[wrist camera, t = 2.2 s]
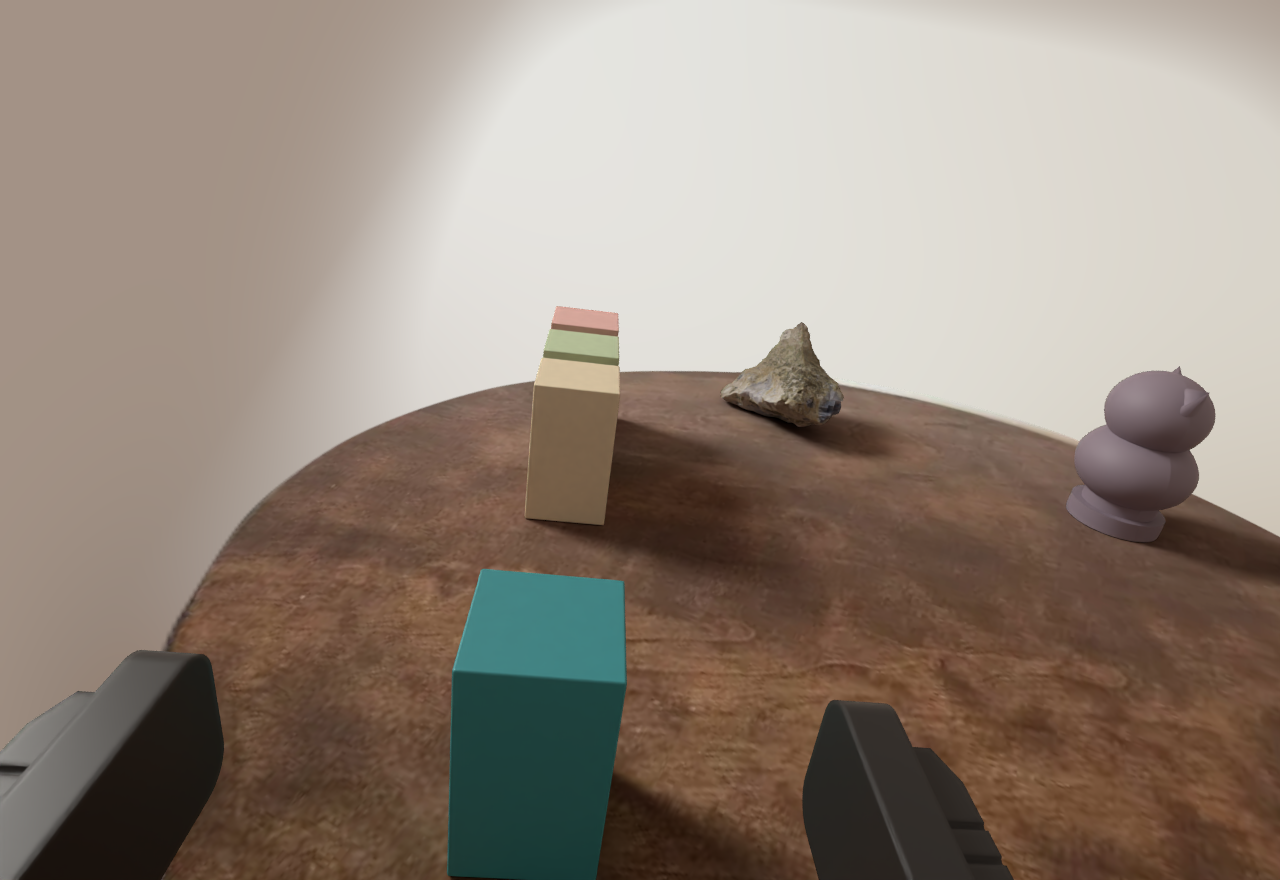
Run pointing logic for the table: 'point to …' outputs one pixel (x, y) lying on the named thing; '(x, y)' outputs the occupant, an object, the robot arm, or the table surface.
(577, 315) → the line block
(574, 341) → the line block
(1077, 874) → the table surface
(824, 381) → the rock
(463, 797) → the teal block
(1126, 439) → the cat figurine
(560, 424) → the line block
